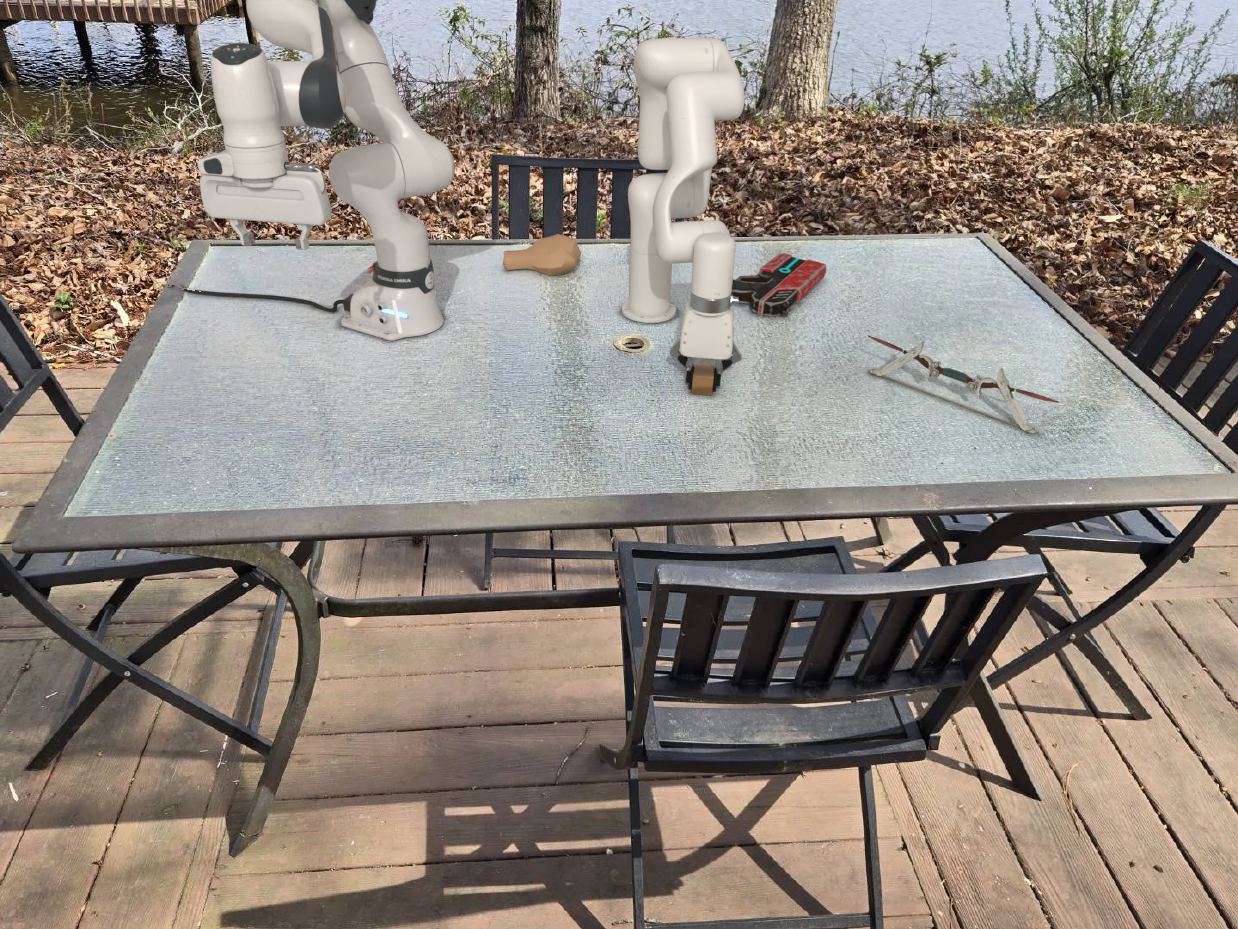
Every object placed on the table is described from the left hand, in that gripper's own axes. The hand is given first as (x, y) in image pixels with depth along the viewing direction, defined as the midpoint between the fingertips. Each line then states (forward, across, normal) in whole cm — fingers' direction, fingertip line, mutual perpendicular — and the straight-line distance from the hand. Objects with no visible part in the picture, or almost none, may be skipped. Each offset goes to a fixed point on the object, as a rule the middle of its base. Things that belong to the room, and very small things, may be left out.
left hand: (275, 246), depth 144 cm
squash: (+32, -27, -78) cm, 89 cm away
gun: (+32, -85, -77) cm, 119 cm away
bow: (+32, -119, -28) cm, 126 cm away
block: (+32, -71, -24) cm, 82 cm away
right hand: (+32, -71, -24) cm, 81 cm away
